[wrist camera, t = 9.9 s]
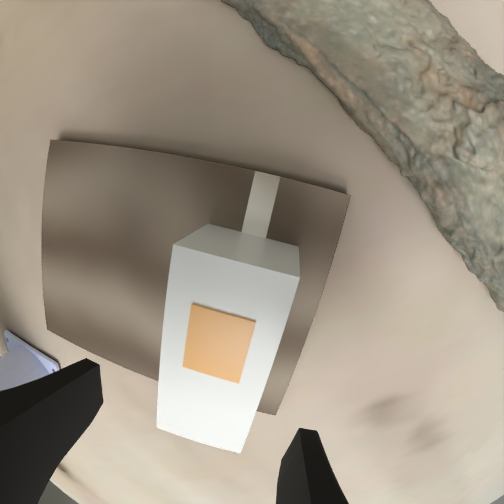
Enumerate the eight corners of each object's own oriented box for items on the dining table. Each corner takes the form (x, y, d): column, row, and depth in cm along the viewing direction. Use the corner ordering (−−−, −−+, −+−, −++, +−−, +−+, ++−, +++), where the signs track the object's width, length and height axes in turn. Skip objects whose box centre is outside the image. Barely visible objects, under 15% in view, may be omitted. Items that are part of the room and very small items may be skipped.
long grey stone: (261, -79, 11) (164, -8, 14) (244, -120, 6) (126, -42, 9) (574, 258, 12) (497, 347, 15) (613, 279, 7) (529, 388, 10)
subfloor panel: (276, 405, 18) (275, 415, 17) (54, 324, 20) (46, 329, 19) (347, 194, 14) (350, 195, 13) (60, 140, 16) (49, 139, 15)
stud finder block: (252, 399, 17) (239, 454, 13) (183, 379, 17) (155, 428, 13) (298, 246, 14) (300, 278, 10) (208, 223, 15) (172, 244, 10)
